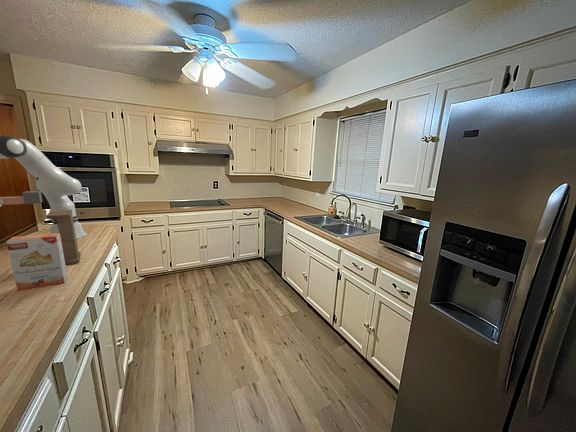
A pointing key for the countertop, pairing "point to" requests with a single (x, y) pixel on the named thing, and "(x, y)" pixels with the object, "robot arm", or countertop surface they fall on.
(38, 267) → the cracker box
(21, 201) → the terracotta bar
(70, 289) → the countertop surface
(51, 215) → the walnut stand
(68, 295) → the countertop surface
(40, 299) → the countertop surface
